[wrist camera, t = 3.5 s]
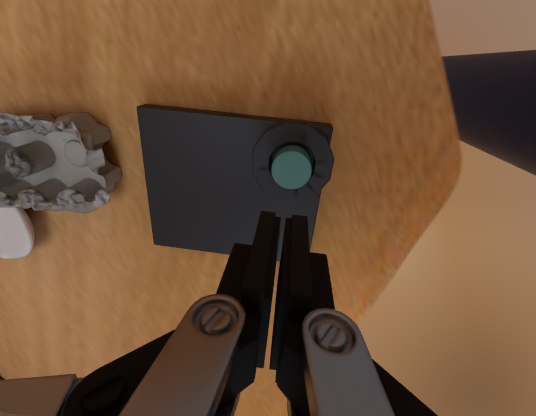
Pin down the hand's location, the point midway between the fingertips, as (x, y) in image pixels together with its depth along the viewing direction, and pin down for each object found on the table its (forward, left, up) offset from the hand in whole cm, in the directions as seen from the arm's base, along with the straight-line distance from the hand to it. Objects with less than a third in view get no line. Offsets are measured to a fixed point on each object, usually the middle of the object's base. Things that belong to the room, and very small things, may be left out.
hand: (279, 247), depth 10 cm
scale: (+4, +3, -13) cm, 14 cm away
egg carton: (+19, +2, -13) cm, 23 cm away
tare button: (0, 0, -10) cm, 10 cm away
